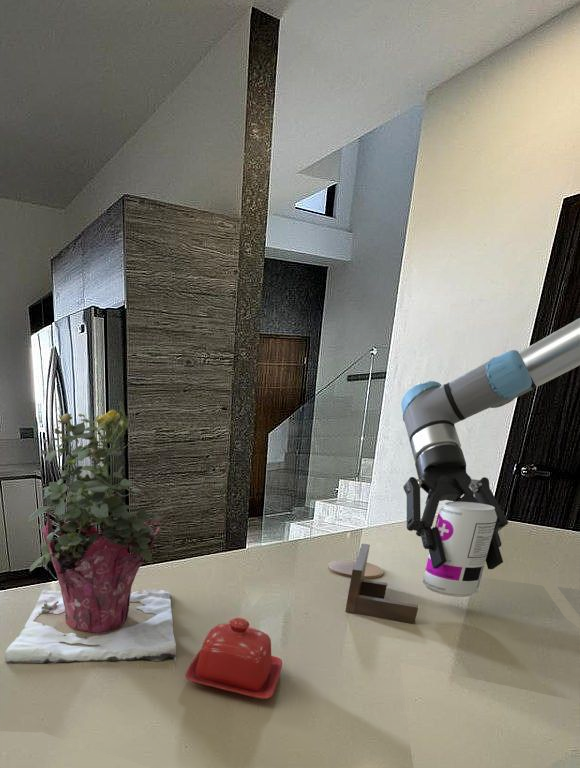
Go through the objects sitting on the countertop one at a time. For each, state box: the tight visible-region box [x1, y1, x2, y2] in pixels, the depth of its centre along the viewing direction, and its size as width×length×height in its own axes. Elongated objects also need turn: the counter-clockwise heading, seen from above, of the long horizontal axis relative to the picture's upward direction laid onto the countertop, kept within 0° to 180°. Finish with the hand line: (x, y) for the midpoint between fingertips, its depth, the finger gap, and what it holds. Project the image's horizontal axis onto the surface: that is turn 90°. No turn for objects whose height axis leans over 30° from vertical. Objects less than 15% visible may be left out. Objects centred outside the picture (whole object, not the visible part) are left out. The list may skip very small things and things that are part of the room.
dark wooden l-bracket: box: [344, 543, 419, 625], centre depth 88 cm, size 11×18×8 cm, turn 151°
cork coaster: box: [327, 559, 384, 580], centre depth 105 cm, size 11×11×1 cm
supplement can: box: [422, 501, 497, 598], centre depth 82 cm, size 8×8×15 cm
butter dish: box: [184, 617, 283, 700], centre depth 64 cm, size 12×12×8 cm
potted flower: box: [4, 401, 177, 664], centre depth 74 cm, size 27×25×35 cm
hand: (467, 565), depth 80 cm, fingers closed on supplement can, 8 cm apart
